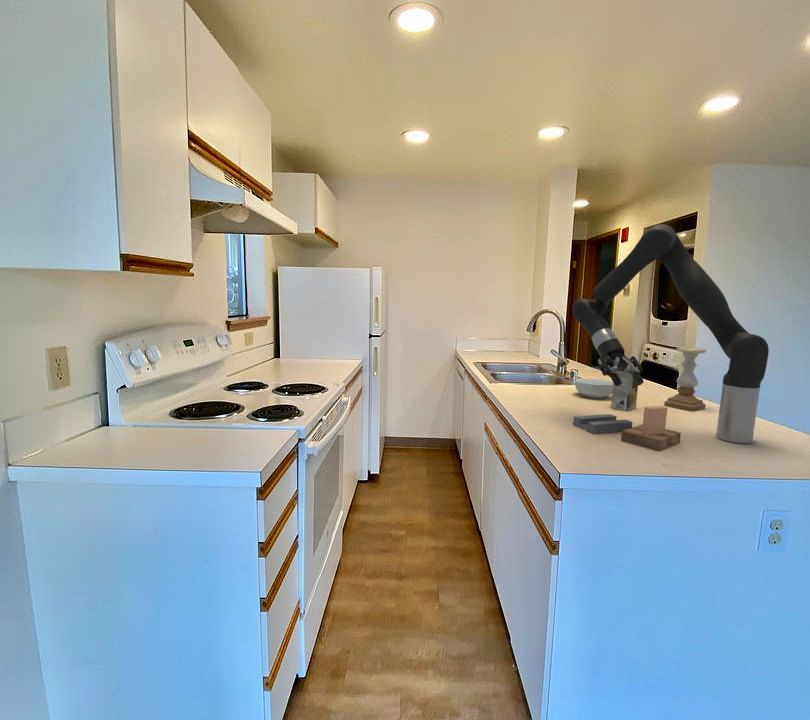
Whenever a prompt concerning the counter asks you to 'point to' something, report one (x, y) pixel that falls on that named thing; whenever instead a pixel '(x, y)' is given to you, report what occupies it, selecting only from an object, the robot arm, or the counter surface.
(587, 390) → the cereal bowl
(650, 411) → the tile
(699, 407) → the candle holder
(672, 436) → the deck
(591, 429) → the rack
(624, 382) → the coffee box
